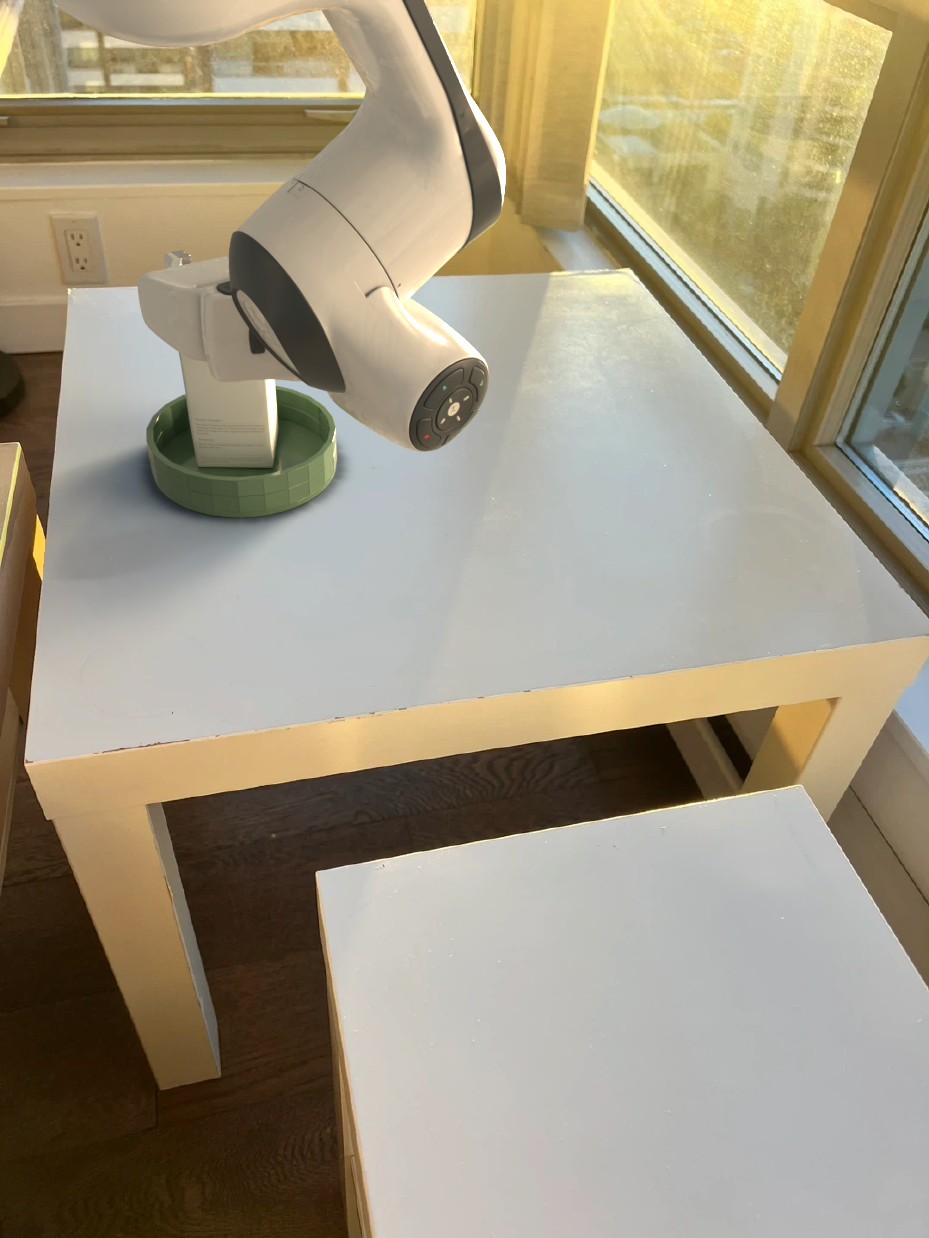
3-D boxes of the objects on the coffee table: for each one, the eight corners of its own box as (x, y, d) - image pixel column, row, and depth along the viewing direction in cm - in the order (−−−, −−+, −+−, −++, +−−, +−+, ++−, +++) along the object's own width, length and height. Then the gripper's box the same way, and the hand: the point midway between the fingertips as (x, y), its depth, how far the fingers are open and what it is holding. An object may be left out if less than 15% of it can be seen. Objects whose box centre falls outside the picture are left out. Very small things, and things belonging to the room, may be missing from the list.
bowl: (183, 536, 83) (177, 498, 81) (132, 438, 94) (125, 402, 91) (365, 491, 90) (365, 455, 87) (297, 405, 101) (295, 370, 98)
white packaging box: (280, 429, 96) (272, 308, 88) (273, 470, 91) (263, 346, 82) (205, 427, 95) (189, 305, 87) (193, 468, 90) (175, 343, 82)
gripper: (434, 246, 73) (335, 190, 81) (187, 302, 63) (99, 232, 70) (430, 324, 77) (336, 264, 85) (198, 389, 67) (114, 314, 75)
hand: (227, 250), depth 78 cm, fingers open, 8 cm apart
